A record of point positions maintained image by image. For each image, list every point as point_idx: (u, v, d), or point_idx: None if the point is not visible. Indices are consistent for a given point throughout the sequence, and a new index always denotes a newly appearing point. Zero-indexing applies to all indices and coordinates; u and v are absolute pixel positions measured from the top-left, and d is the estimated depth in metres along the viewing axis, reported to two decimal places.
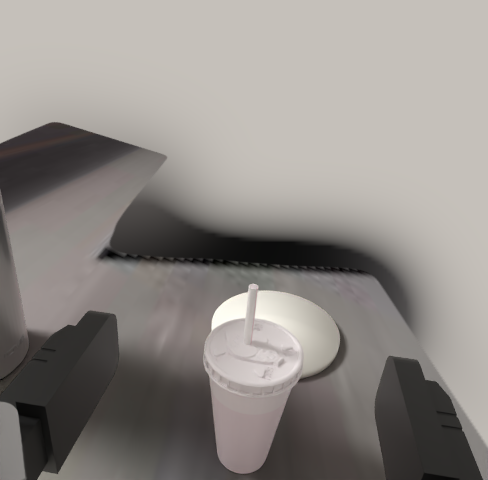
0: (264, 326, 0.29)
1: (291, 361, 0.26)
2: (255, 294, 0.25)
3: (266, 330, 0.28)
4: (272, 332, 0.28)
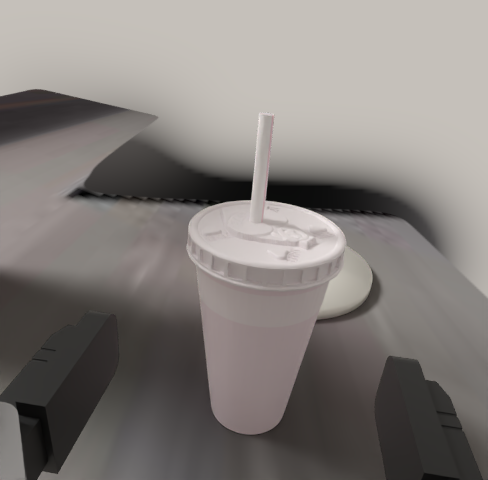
0: (281, 209, 0.19)
1: (327, 243, 0.16)
2: (270, 126, 0.15)
3: (284, 213, 0.19)
4: (293, 215, 0.18)
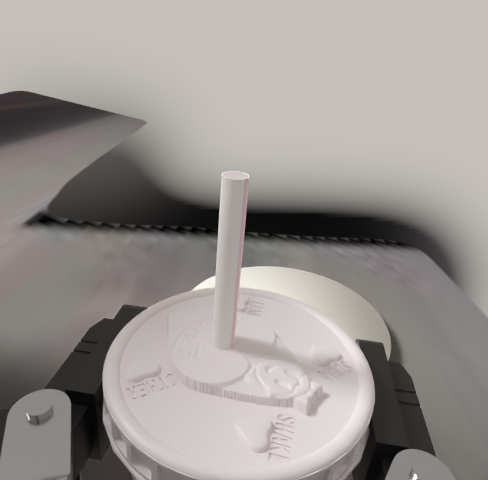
0: (267, 305, 0.12)
1: (343, 394, 0.09)
2: (240, 198, 0.08)
3: (271, 314, 0.12)
4: (286, 318, 0.12)
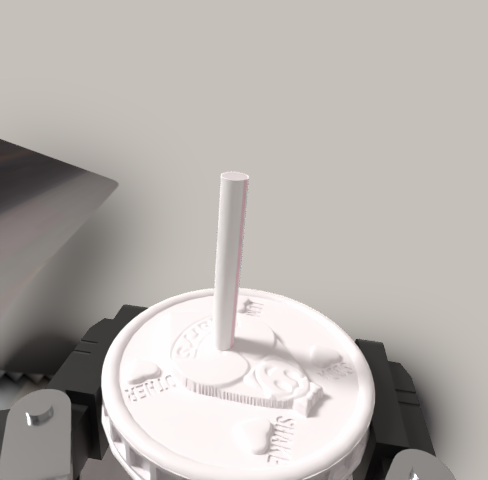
0: (267, 306, 0.12)
1: (343, 396, 0.09)
2: (239, 198, 0.08)
3: (271, 315, 0.12)
4: (286, 319, 0.12)
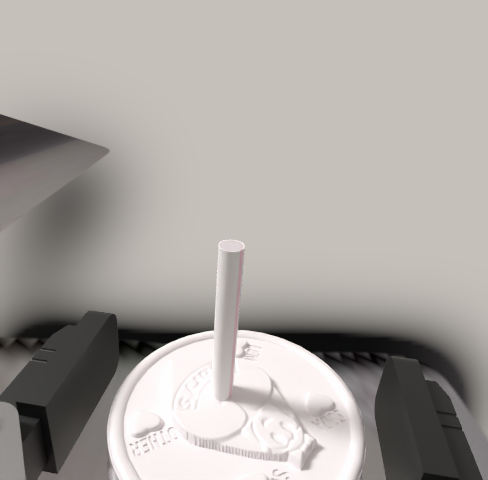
0: (264, 349, 0.13)
1: (335, 447, 0.10)
2: (236, 267, 0.09)
3: (268, 359, 0.12)
4: (282, 363, 0.12)
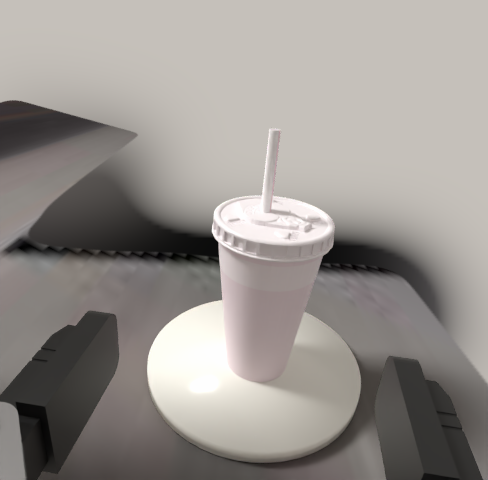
0: (285, 202, 0.24)
1: (320, 228, 0.21)
2: (277, 138, 0.20)
3: (287, 205, 0.23)
4: (294, 207, 0.23)
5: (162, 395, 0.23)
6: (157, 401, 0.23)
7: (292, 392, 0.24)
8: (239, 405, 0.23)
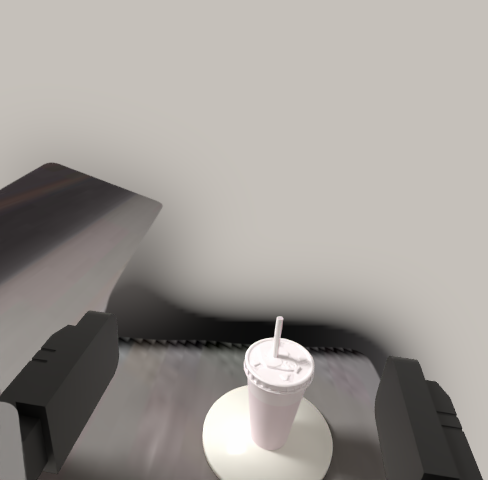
0: (285, 344, 0.40)
1: (306, 369, 0.37)
2: (281, 323, 0.36)
3: (287, 347, 0.40)
4: (291, 348, 0.39)
5: (214, 460, 0.39)
6: (212, 464, 0.39)
7: (291, 457, 0.40)
8: (260, 467, 0.39)
